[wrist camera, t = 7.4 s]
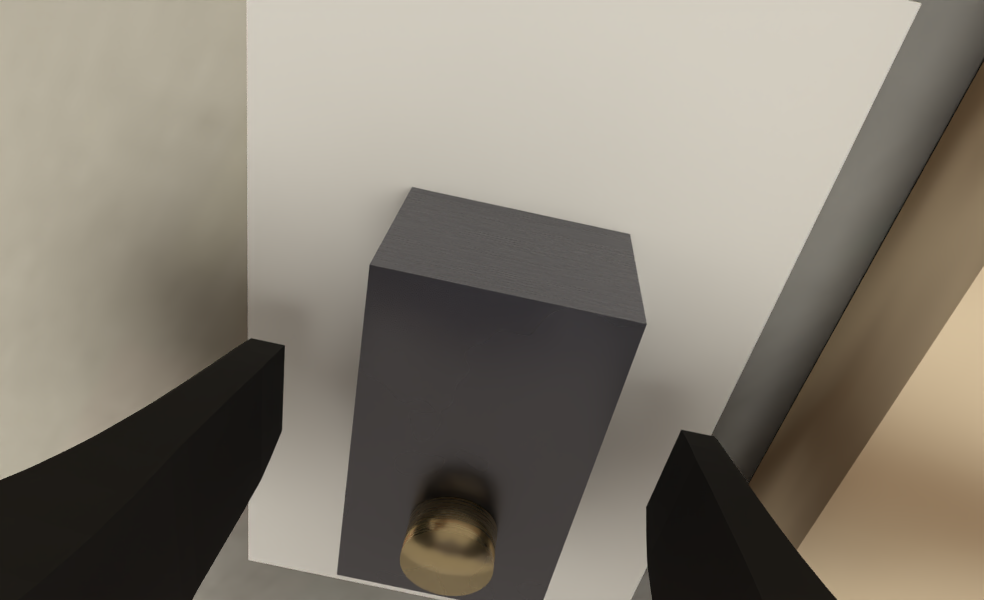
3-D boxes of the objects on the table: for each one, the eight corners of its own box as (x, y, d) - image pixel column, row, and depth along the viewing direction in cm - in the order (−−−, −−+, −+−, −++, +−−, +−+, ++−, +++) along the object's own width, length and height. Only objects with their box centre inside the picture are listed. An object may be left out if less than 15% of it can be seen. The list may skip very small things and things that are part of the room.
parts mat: (612, 622, 18) (613, 635, 18) (254, 547, 18) (248, 560, 18) (909, -1, 10) (921, 3, 10) (257, -146, 10) (246, -147, 10)
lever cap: (542, 499, 16) (535, 655, 12) (374, 463, 16) (324, 612, 12) (630, 233, 12) (652, 357, 9) (412, 186, 12) (353, 293, 9)
